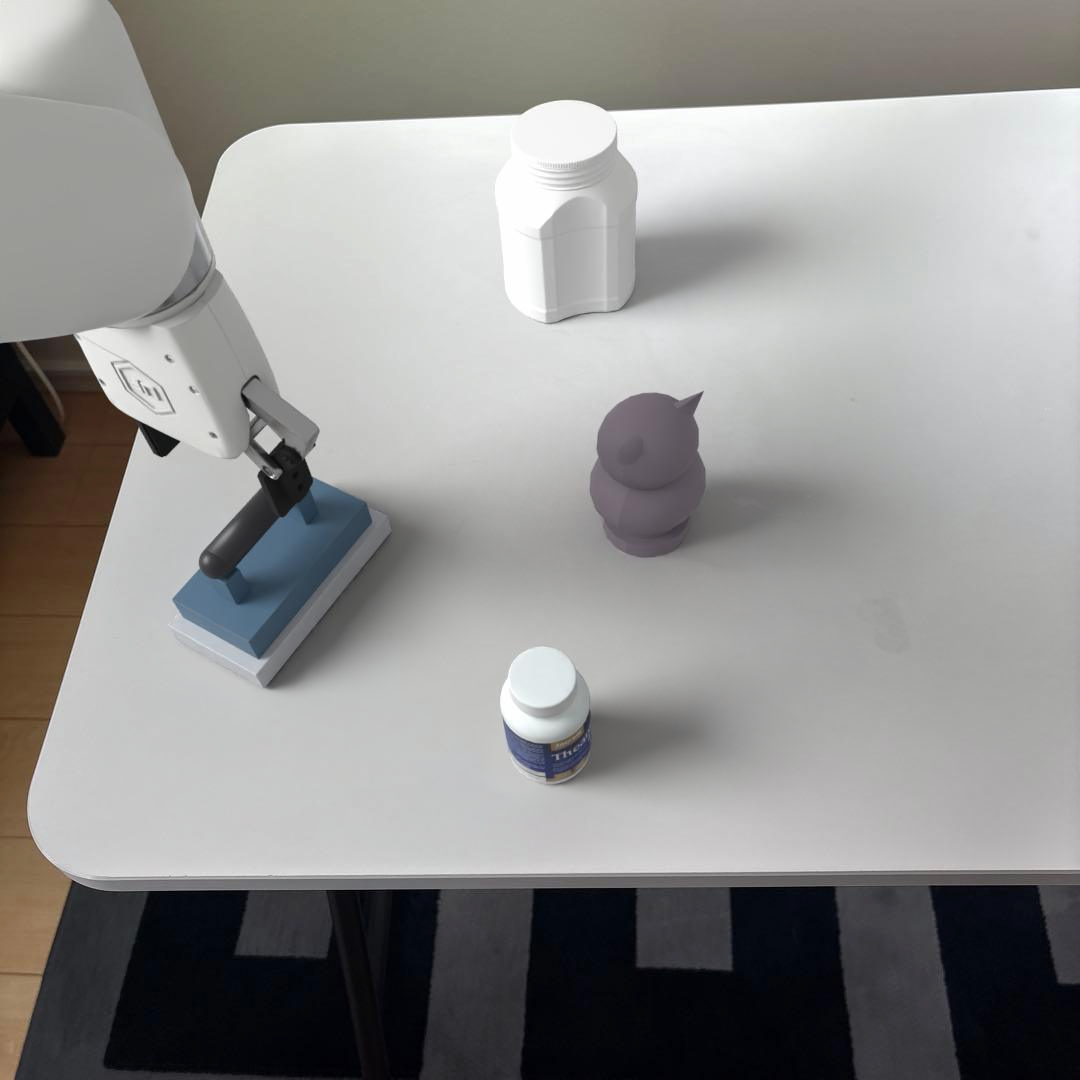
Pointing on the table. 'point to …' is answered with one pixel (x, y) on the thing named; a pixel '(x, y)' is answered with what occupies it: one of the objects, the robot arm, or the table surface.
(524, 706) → the pill bottle
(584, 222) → the jar
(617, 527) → the mauve rounded figurine
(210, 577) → the scrub brush
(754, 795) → the table surface
